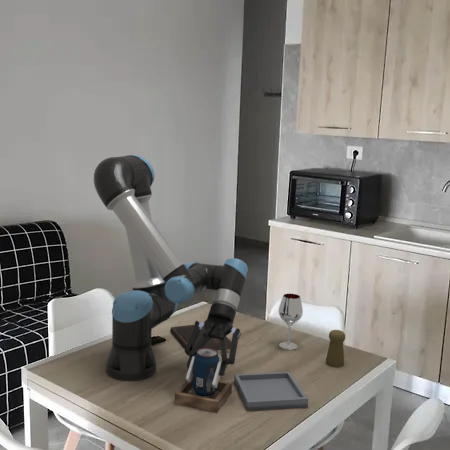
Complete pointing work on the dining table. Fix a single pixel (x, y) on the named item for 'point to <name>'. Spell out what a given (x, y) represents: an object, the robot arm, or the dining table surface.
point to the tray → (270, 391)
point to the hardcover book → (185, 333)
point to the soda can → (205, 371)
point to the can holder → (203, 402)
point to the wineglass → (290, 316)
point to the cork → (336, 349)
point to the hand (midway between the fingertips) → (201, 383)
